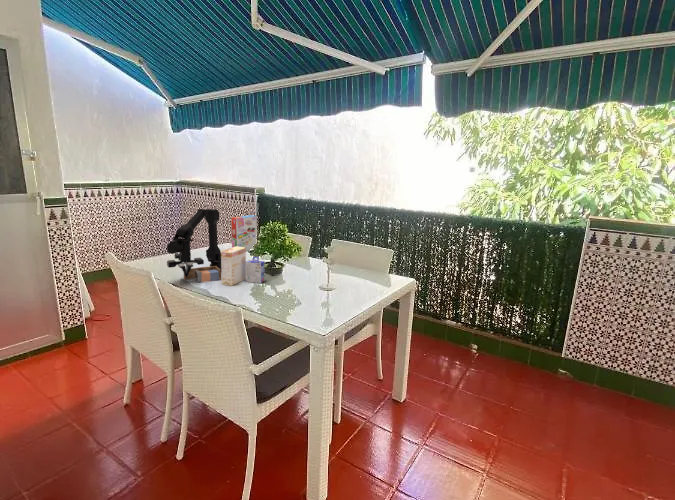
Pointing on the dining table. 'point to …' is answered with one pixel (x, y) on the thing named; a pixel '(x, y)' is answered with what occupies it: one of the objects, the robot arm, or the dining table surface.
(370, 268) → the dining table surface
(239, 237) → the game box
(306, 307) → the dining table surface
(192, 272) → the shelf
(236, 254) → the coffeecake box
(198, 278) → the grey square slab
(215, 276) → the blue-grey plain cube block
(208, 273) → the salmon rectangular block
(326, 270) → the dining table surface
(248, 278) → the ink cartridge box
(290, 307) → the dining table surface
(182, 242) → the robot arm
